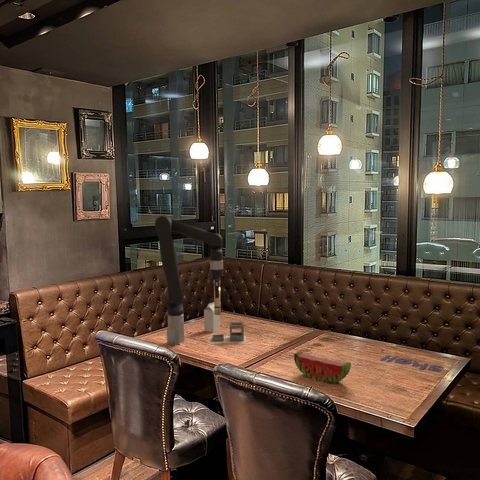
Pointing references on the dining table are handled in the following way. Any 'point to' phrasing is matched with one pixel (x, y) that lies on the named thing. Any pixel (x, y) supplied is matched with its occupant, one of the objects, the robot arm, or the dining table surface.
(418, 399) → the dining table surface
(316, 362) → the fruit slice
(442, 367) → the signage
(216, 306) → the brass tube
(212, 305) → the milk carton
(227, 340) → the base board
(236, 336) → the collar stand
